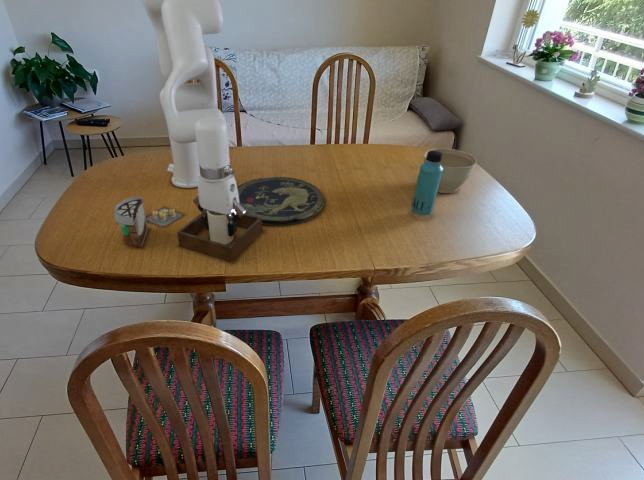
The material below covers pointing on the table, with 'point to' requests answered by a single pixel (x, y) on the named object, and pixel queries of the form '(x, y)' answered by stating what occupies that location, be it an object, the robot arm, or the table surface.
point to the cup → (218, 227)
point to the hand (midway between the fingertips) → (221, 230)
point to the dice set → (163, 217)
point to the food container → (132, 220)
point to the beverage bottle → (427, 184)
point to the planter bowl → (454, 169)
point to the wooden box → (215, 248)
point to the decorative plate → (280, 200)
